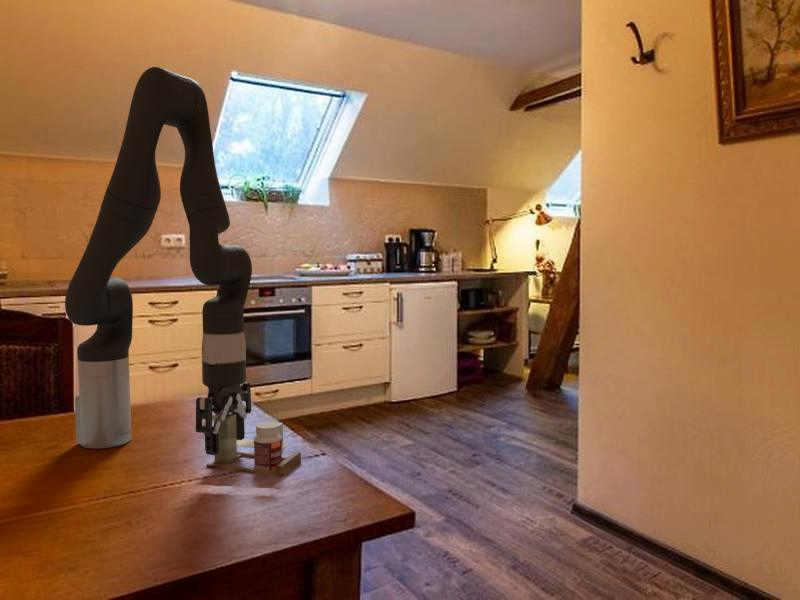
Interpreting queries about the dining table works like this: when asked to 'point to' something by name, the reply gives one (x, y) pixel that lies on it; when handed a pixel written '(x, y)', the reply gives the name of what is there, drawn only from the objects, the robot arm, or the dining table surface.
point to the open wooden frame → (230, 452)
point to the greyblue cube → (280, 430)
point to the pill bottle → (267, 446)
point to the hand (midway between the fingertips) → (225, 446)
